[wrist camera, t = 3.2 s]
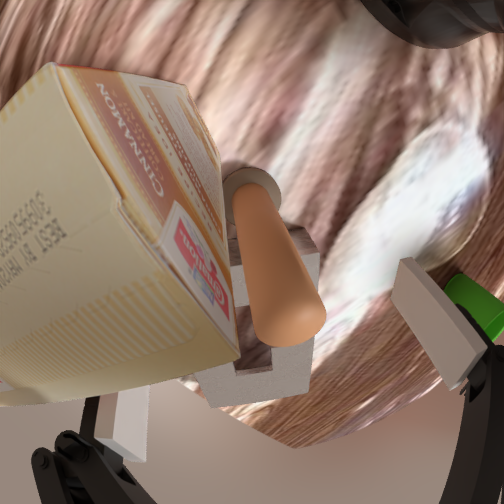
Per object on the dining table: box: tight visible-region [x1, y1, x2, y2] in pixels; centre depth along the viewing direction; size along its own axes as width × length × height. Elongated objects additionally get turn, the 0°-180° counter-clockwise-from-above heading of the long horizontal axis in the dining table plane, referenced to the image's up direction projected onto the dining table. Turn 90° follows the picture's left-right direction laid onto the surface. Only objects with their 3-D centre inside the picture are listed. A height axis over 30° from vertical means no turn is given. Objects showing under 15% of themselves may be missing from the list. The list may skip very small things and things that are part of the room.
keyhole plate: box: [194, 228, 320, 408], centre depth 31 cm, size 24×14×4 cm, turn 6°
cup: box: [444, 273, 504, 342], centre depth 31 cm, size 9×9×11 cm
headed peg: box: [222, 167, 326, 347], centre depth 18 cm, size 5×5×15 cm
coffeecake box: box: [0, 62, 241, 407], centre depth 13 cm, size 15×7×20 cm, turn 113°
